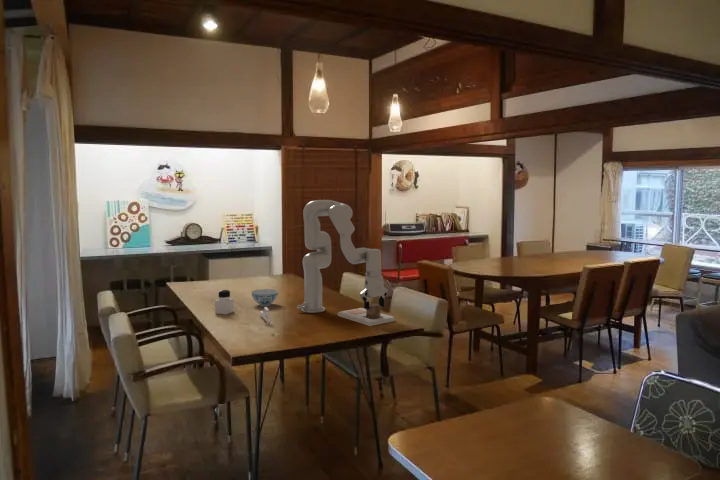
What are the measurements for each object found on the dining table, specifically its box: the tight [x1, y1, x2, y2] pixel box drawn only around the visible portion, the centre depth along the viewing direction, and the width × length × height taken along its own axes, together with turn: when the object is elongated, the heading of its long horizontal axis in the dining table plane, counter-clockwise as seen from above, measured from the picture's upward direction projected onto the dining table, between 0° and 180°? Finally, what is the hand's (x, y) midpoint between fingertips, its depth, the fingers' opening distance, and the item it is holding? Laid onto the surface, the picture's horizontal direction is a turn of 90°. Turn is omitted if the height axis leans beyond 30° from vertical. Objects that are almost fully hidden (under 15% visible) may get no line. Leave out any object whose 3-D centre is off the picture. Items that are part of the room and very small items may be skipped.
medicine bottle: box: [214, 289, 235, 315], centre depth 283 cm, size 7×7×12 cm
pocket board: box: [337, 307, 395, 327], centre depth 273 cm, size 16×26×2 cm, turn 39°
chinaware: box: [251, 288, 279, 307], centre depth 302 cm, size 15×15×8 cm
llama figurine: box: [259, 306, 272, 326], centre depth 266 cm, size 2×11×18 cm
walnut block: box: [366, 303, 381, 320], centre depth 268 cm, size 5×5×8 cm
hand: (374, 307), depth 267 cm, fingers open, 9 cm apart
